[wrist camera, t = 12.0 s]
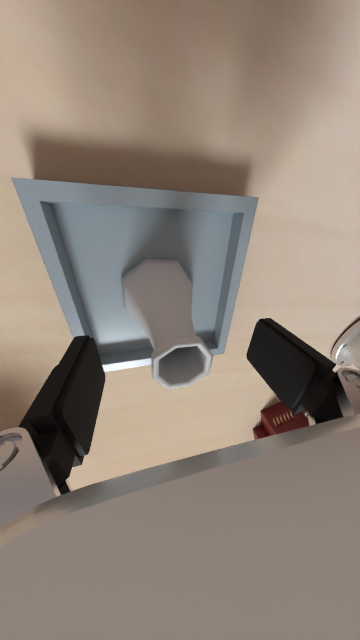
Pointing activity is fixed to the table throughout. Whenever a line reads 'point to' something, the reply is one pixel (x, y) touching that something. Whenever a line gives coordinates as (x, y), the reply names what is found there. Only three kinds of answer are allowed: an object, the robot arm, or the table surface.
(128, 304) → the flask
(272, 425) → the toy houses
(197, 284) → the tray
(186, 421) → the table surface
